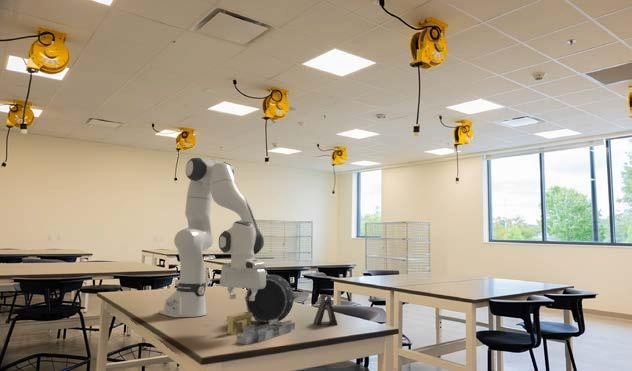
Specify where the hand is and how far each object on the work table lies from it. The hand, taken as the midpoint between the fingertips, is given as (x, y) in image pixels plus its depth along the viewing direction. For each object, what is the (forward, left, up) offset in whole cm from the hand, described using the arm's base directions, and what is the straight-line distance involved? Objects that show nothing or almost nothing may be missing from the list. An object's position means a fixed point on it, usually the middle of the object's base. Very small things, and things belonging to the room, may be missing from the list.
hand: (242, 299), depth 162 cm
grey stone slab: (+11, +2, -12) cm, 17 cm away
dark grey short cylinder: (-2, +20, -12) cm, 23 cm away
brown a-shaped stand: (+18, +33, -12) cm, 40 cm away
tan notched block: (-1, 0, -12) cm, 12 cm away
